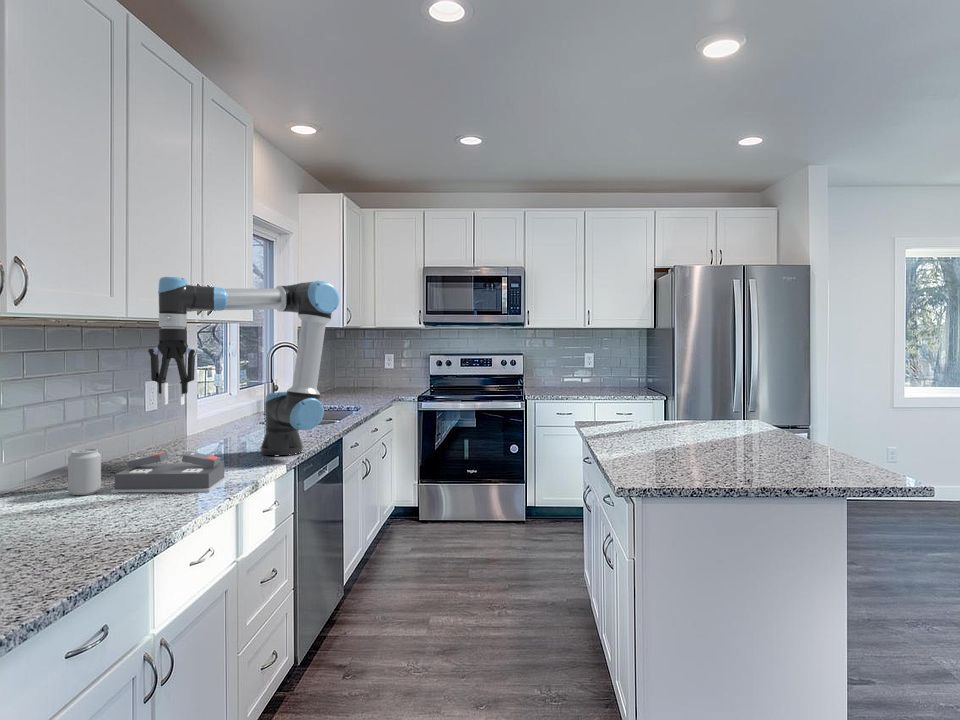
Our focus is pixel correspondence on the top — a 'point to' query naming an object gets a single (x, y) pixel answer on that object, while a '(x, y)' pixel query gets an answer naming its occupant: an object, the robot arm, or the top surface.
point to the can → (84, 472)
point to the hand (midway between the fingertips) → (173, 404)
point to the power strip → (169, 478)
